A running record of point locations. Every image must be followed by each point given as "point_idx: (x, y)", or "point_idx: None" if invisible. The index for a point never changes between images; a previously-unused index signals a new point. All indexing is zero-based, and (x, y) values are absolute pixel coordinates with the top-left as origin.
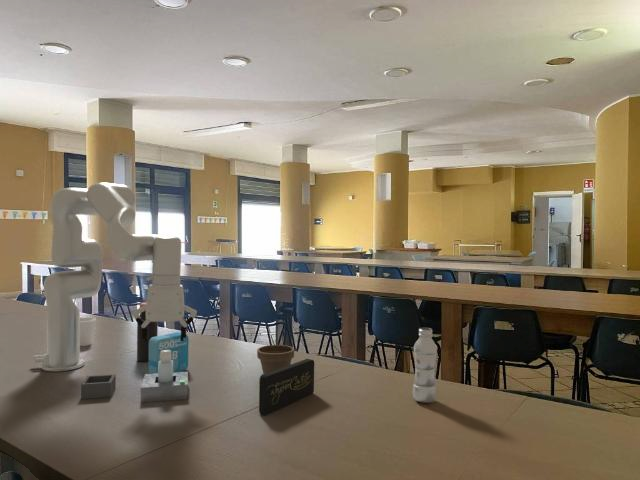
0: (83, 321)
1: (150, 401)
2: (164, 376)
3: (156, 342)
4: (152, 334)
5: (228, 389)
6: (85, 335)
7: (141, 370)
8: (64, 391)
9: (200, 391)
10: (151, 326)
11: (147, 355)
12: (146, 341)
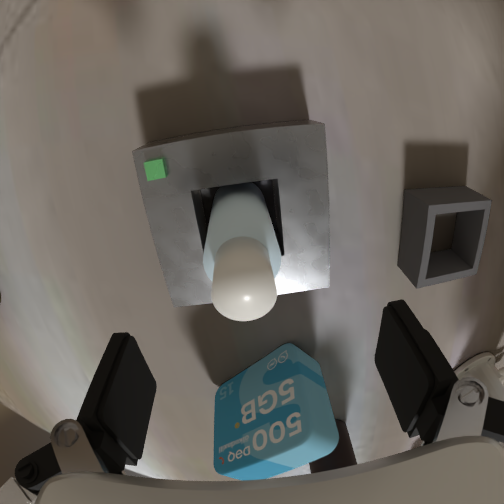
0: None
1: (276, 122)
2: (239, 202)
3: (313, 430)
4: None
5: (51, 232)
6: None
7: (335, 382)
8: (488, 247)
9: (123, 217)
10: None
11: None
12: (390, 306)
